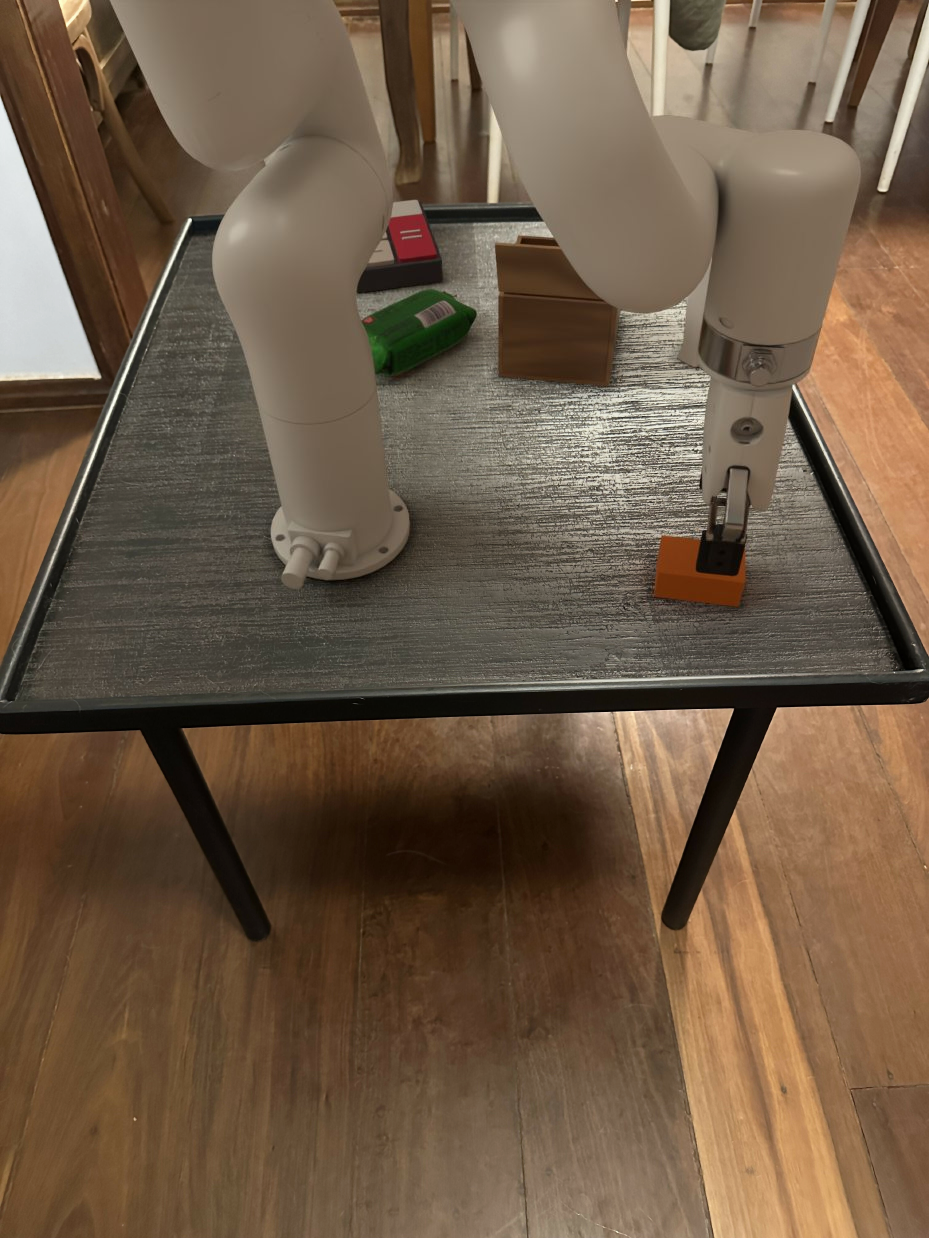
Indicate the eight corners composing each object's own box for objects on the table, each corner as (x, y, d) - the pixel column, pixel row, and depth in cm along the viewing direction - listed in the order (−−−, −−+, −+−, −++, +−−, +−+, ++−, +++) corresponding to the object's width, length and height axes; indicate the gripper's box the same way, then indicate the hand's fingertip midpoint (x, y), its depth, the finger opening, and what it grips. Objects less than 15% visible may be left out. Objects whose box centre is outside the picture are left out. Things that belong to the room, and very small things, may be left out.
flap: (618, 298, 90) (617, 300, 90) (498, 289, 92) (498, 291, 92) (622, 250, 84) (622, 253, 84) (495, 242, 86) (494, 244, 86)
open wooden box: (609, 386, 98) (617, 305, 91) (498, 376, 99) (498, 296, 92) (619, 321, 106) (628, 242, 99) (516, 313, 108) (518, 235, 101)
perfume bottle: (672, 366, 100) (694, 232, 88) (676, 344, 103) (698, 211, 91) (715, 371, 99) (743, 236, 88) (717, 349, 102) (745, 215, 90)
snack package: (488, 337, 105) (488, 295, 101) (381, 392, 98) (376, 349, 94) (448, 314, 108) (446, 272, 104) (341, 365, 102) (335, 323, 98)
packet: (738, 607, 77) (745, 582, 74) (653, 596, 78) (658, 572, 75) (738, 569, 79) (745, 544, 77) (656, 559, 81) (661, 534, 78)
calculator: (351, 265, 109) (336, 204, 118) (355, 298, 112) (340, 235, 121) (442, 254, 110) (420, 193, 119) (443, 286, 113) (422, 225, 123)
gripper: (824, 423, 55) (767, 613, 67) (809, 277, 66) (763, 464, 79) (695, 413, 56) (664, 602, 69) (702, 272, 67) (674, 457, 80)
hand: (717, 528), depth 74 cm, fingers open, 9 cm apart
